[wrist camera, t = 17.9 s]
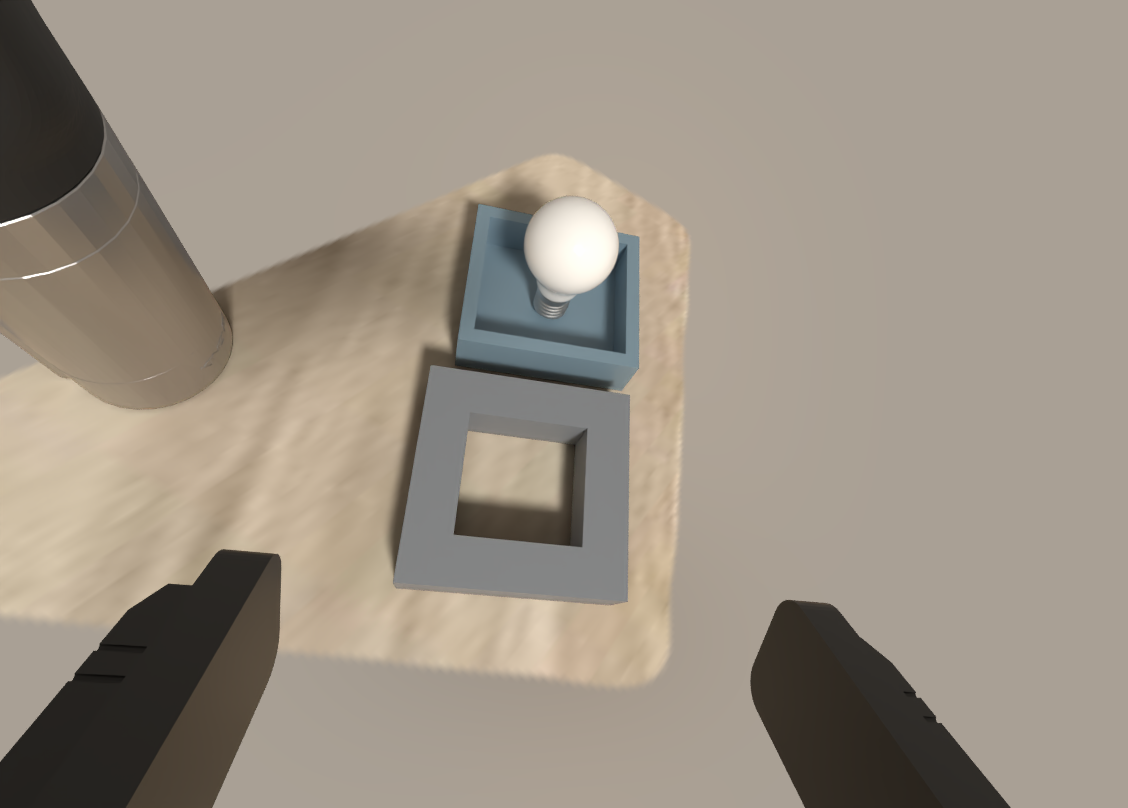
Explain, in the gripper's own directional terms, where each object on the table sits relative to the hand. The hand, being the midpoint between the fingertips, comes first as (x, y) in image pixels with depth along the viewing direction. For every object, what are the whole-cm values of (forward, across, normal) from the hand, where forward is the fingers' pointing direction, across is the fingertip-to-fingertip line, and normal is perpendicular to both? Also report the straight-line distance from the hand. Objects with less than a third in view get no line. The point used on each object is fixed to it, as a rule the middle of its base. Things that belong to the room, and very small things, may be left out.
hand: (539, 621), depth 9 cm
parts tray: (+38, -4, +3) cm, 38 cm away
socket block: (+27, -3, +13) cm, 30 cm away
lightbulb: (+37, -4, +3) cm, 37 cm away
